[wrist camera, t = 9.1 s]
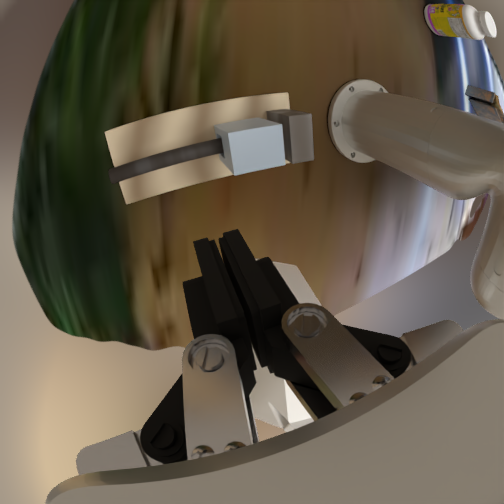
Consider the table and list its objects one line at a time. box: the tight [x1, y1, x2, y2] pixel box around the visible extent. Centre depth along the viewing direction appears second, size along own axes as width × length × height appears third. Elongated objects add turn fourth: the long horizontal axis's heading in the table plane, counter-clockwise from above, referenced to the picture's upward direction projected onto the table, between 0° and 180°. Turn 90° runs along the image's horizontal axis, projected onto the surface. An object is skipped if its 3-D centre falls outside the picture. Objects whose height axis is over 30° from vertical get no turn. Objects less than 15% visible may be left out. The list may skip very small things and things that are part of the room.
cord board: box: [105, 92, 314, 205], centre depth 26 cm, size 21×9×7 cm, turn 97°
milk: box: [250, 258, 322, 432], centre depth 33 cm, size 12×12×26 cm
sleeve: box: [214, 117, 286, 176], centre depth 26 cm, size 5×4×6 cm
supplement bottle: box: [424, 4, 496, 40], centre depth 20 cm, size 7×7×13 cm
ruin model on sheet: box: [465, 86, 504, 124], centre depth 34 cm, size 11×3×10 cm, turn 66°
